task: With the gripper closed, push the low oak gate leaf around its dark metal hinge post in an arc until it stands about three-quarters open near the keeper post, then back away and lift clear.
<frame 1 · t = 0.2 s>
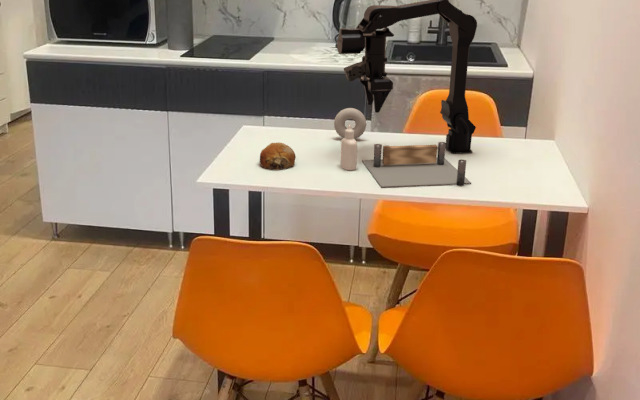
hand: (373, 108, 203), 14 cm above the table, fingers open, 9 cm apart
bread roll: (277, 165, 198), on the table
eye dropper bottle: (348, 168, 197), on the table
gate posts: (440, 165, 200), resting on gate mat
gate: (409, 154, 197), point 4 cm above the table, hinge at 0.0°
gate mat: (414, 172, 194), on the table
donut: (349, 140, 223), on the table
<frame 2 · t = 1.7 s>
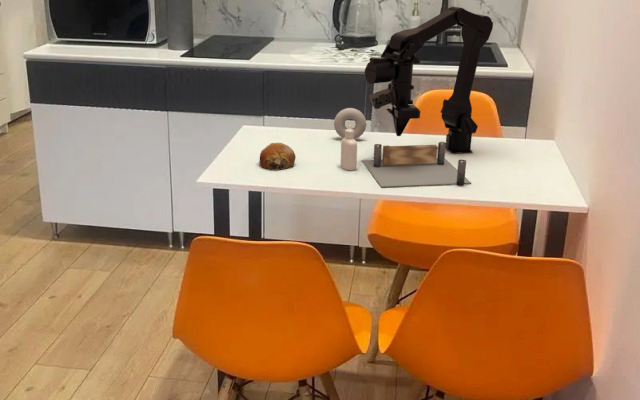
hand: (398, 135, 201), 7 cm above the table, fingers closed
nothing on the table moved.
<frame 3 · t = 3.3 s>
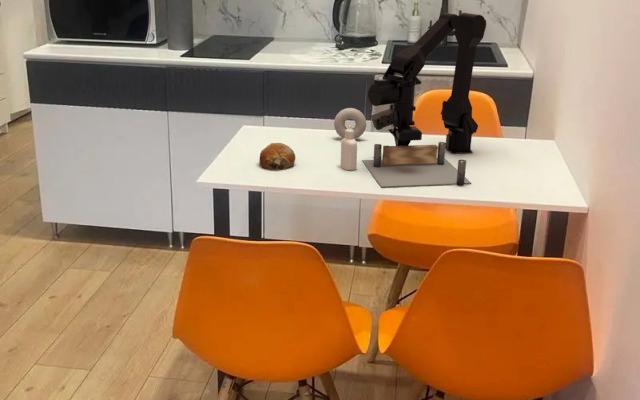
hand: (399, 156, 200), 2 cm above the table, fingers closed
gate: (409, 154, 197), point 4 cm above the table, hinge at 0.0°, touching gripper
everything else where it was.
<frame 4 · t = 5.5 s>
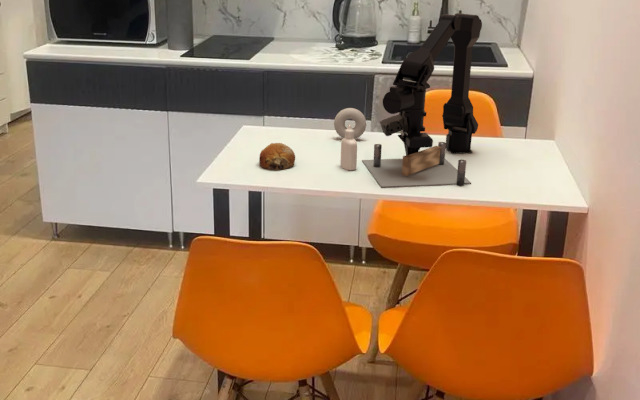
hand: (409, 162, 195), 2 cm above the table, fingers closed
gate: (421, 160, 193), point 4 cm above the table, hinge at 36.6°, touching gripper
everything else where it was.
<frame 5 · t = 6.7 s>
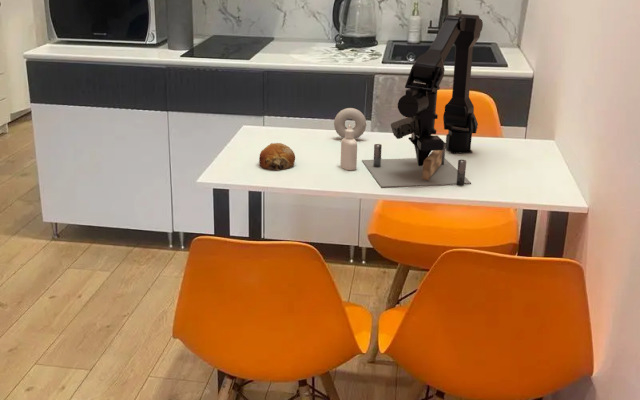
hand: (420, 165, 193), 2 cm above the table, fingers closed
gate: (433, 162, 191), point 4 cm above the table, hinge at 57.8°, touching gripper
everything else where it was.
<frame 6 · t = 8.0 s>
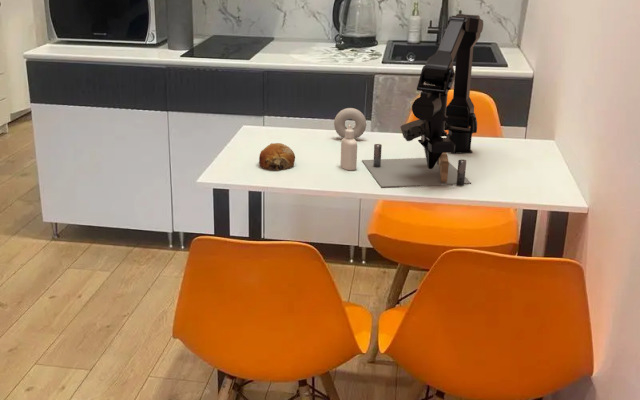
hand: (430, 168, 191), 2 cm above the table, fingers closed
gate: (443, 163, 190), point 4 cm above the table, hinge at 74.5°
everything else where it was.
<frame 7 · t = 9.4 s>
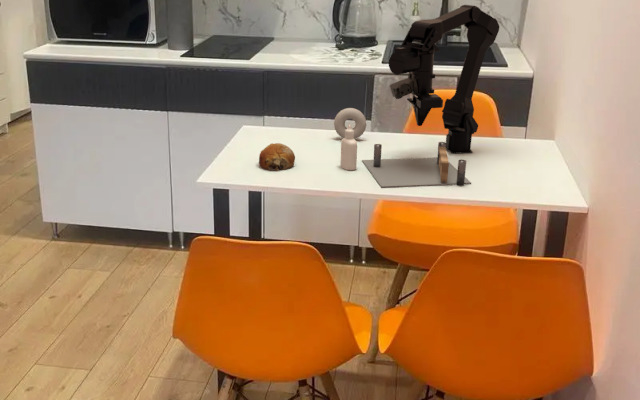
hand: (419, 125, 199), 11 cm above the table, fingers closed
nothing on the table moved.
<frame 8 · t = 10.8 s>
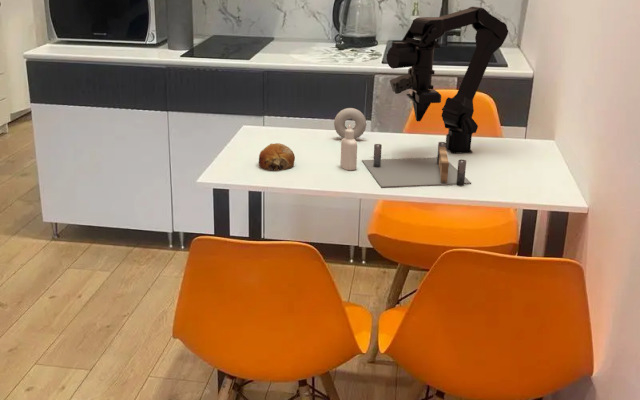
hand: (418, 121, 202), 11 cm above the table, fingers closed
nothing on the table moved.
at the end: gate at +74° (first picture: +0°); eye dropper bottle moved 0.2 cm from its start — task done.
